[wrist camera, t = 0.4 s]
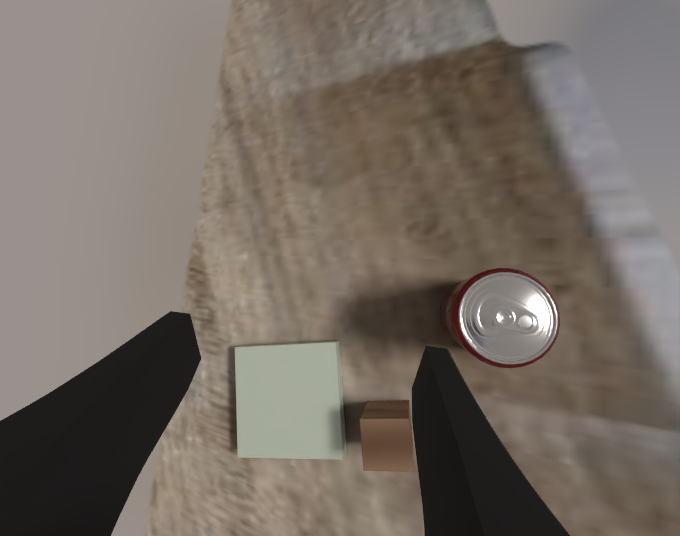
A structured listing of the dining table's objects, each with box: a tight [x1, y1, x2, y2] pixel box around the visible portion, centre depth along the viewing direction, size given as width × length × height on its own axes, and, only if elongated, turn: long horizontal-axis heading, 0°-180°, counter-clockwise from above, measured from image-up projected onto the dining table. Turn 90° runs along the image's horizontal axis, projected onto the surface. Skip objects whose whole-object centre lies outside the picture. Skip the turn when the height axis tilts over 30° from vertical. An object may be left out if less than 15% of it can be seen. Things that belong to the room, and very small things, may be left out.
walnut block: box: [360, 400, 414, 472], centre depth 33 cm, size 4×4×6 cm
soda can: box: [440, 268, 560, 368], centre depth 29 cm, size 7×7×12 cm
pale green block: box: [235, 340, 347, 459], centre depth 37 cm, size 12×12×2 cm
